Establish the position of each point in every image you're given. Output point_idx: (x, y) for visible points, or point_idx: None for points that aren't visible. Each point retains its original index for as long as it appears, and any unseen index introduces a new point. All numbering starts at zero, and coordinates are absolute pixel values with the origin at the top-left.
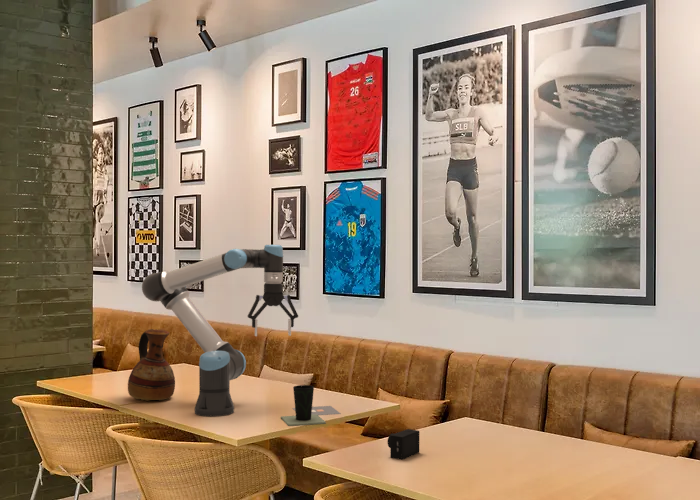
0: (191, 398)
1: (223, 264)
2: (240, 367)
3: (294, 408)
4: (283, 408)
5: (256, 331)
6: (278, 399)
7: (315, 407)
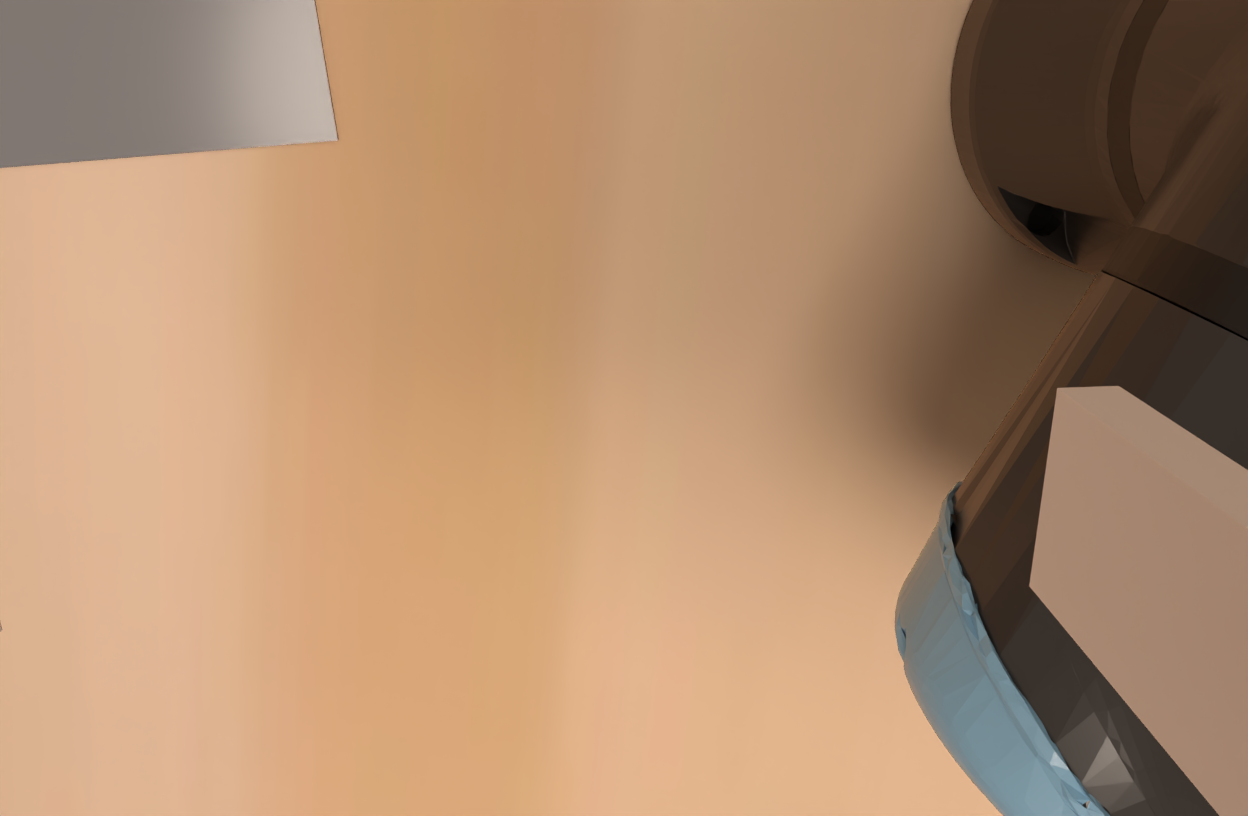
0: None
1: None
2: (1019, 441)
3: (313, 106)
4: (431, 145)
5: (1170, 445)
6: (454, 587)
7: (77, 113)
